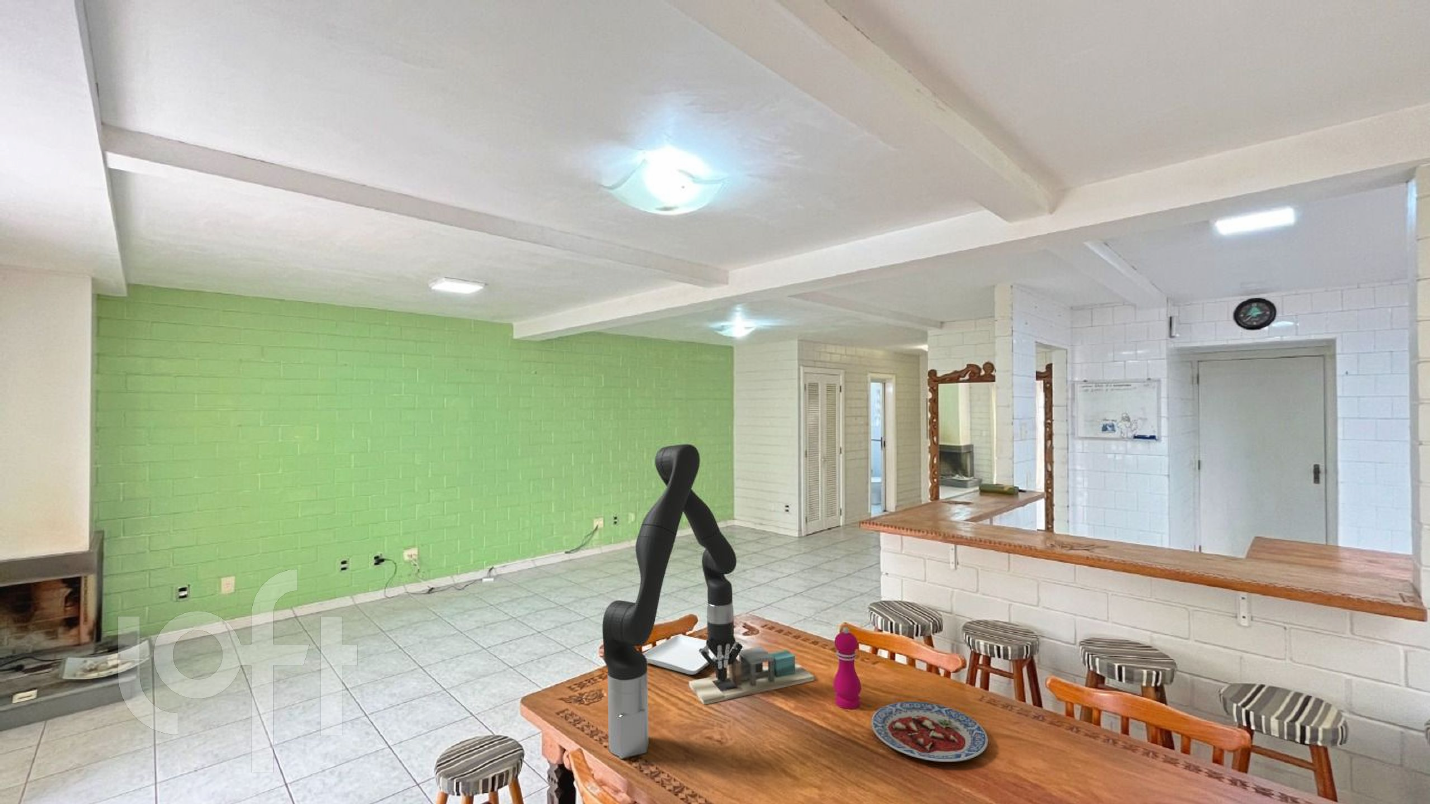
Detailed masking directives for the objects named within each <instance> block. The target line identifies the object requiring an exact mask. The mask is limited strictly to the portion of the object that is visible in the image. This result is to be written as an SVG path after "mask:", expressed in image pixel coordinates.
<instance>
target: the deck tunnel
mask: <svg viewBox="0 0 1430 804" xmlns="http://www.w3.org/2000/svg"><path fill="white" fill-rule="evenodd" d="M738 661H739V662H740V663H741V676H743V675H748V674H750V679H746V680H741V685H737V686H736V685H735V684H734V683H733V682H732V681H731V680H730V679H729V672H727V678H726V679H725V681H722V682H720V681H719V680H718V679H717V678H716V675H713V676H710V677H709V676H708V677H705V678H699V679H694V680H689V681H688V687H690V690H692V692H693V693H694V694H695V695H696V697H697V698H698V699H699V700H700V702H701V703H702V704H703V705H709V704H713V703H717V702H718V703H719V702H721V701H727V700H731V699H735V698H741V697H746V696H749V695H753V694H759V693H764V692H767V691H769V692H770V691H772V690H777V689H782V688H786V687H792V686H794V685H800V684H805V683H810V682H814V681H815V676H814V675H813V674H812V673H811V672H809V671H808V670H807V669H805V668H804V667H803V666H802V665H800V664H799V663H798V662H796V661H795V673H794V674H789V675H785V676H780V677H776V676H775V675H774V657H773V656H771V655H770V654H769V652H768V651H767V650H766V649H764V648H762V647H761V646H756V647H752V648H746V649H741V651H740V653H739V654H738ZM764 663H767V665H764ZM763 671H768V675H765V676H761V677H756V674H755V673H758V672H763Z"/></svg>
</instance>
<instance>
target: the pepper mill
mask: <svg viewBox="0 0 1430 804" xmlns="http://www.w3.org/2000/svg"><path fill="white" fill-rule="evenodd" d="M841 631H842V632H839V633H838V634H836V636H835V638H834V647H835V649H836V658H838V668H837V671H836V674H835V676H834V679H833V686H832V687H833V691H834V692H835V693H836V694H835V695H834V696H835V698H834V699H835V704H836V706H837V707H840V708H842V709H846V710H853V709H854V710H855V709H857V708H858V707H859V706H860V704H861V700H860V699H861V698H860V696H859V695H860V694H861V692H862V685H861V681H860V678H859V676H858V673H857V671H856V668H855V660H856V659H857V652H856V651H857V648H858V644H859V643H858V639H857V637H856V636H855V634H853V633H852V632H850V628H848V627H846V626H844V627H843V628H842V629H841Z"/></svg>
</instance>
